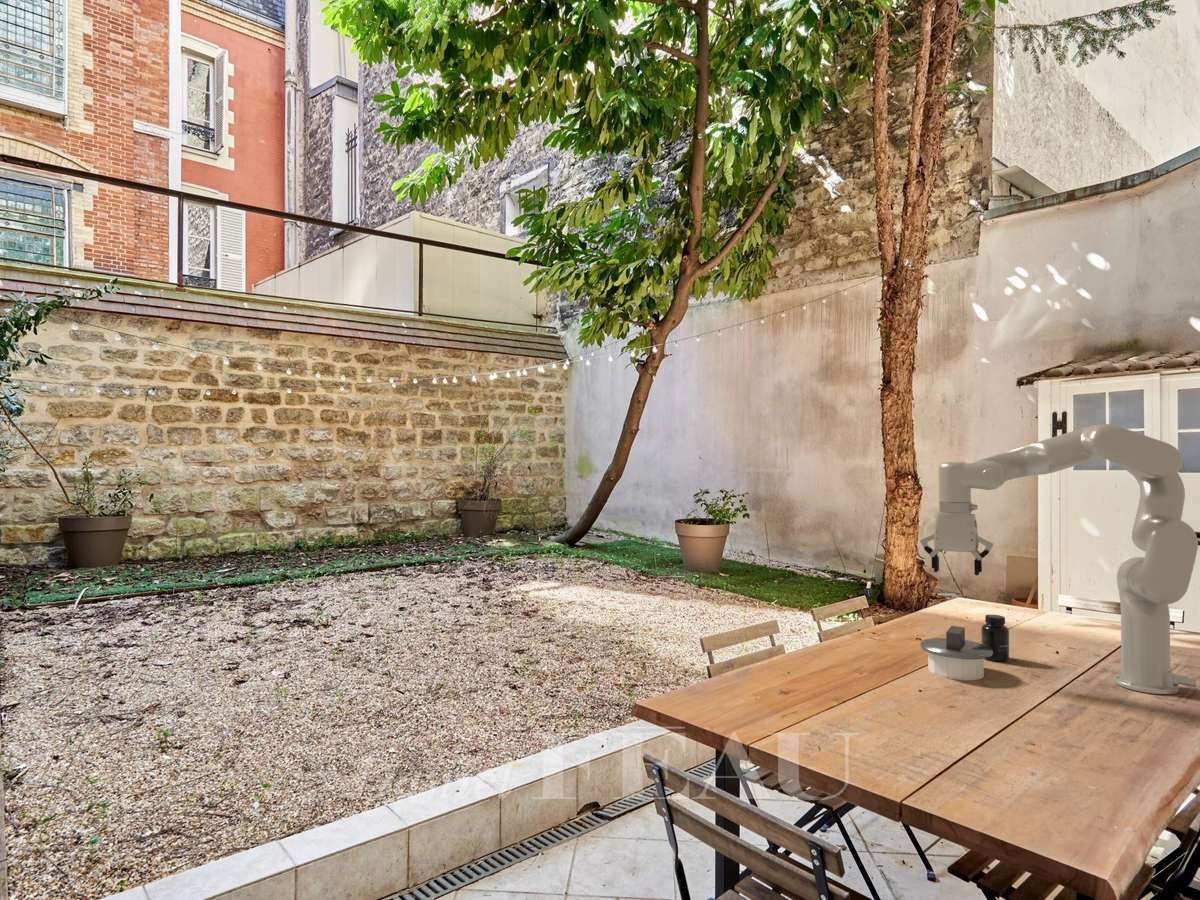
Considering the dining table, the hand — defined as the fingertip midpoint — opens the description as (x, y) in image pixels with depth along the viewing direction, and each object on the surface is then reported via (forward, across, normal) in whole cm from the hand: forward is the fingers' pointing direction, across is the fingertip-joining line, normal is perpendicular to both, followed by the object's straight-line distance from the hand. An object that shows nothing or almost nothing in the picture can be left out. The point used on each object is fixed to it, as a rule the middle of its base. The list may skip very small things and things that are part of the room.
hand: (956, 573), depth 182 cm
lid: (+20, 0, 0) cm, 20 cm away
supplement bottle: (+27, -6, -19) cm, 33 cm away
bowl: (+26, +1, 0) cm, 26 cm away
